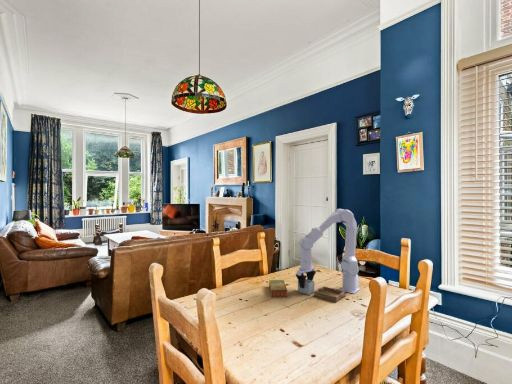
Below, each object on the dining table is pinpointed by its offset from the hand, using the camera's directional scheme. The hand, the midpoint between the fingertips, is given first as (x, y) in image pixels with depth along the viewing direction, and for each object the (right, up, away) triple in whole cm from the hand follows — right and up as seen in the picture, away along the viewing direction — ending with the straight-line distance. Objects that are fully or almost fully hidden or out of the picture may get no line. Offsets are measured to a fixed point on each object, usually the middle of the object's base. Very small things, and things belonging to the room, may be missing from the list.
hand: (305, 285), depth 144 cm
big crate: (+11, -3, -6) cm, 13 cm away
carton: (-15, -4, +1) cm, 15 cm away
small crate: (0, -3, 0) cm, 3 cm away
